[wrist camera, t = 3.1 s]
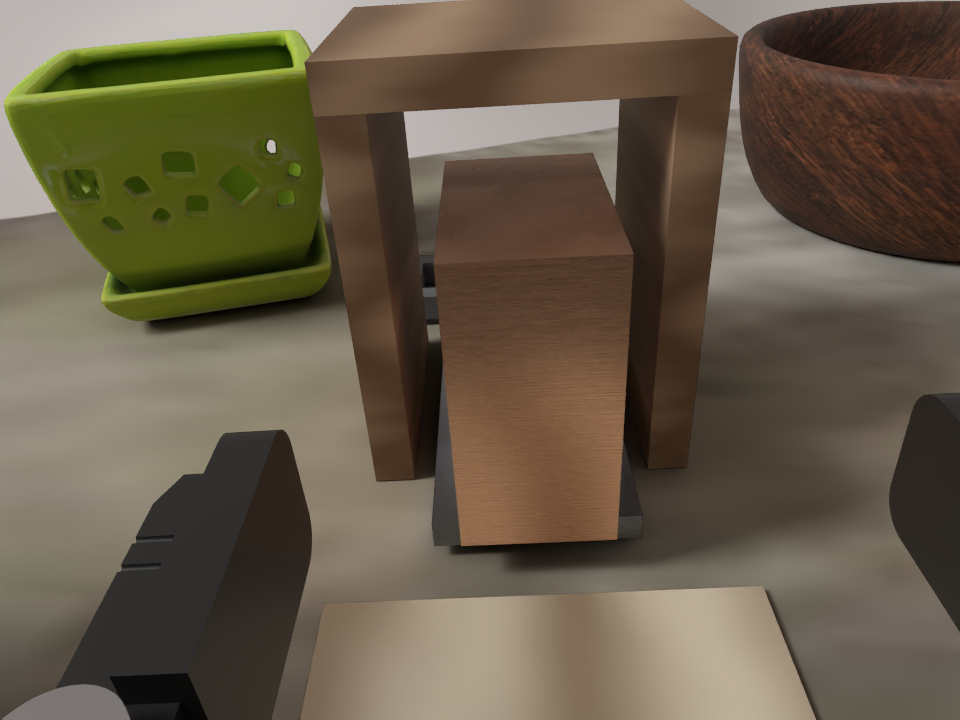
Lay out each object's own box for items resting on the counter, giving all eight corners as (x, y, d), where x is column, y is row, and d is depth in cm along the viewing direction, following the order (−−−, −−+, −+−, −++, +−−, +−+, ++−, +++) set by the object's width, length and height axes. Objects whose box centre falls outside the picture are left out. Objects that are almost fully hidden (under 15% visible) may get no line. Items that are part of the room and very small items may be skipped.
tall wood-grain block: (433, 568, 25) (393, 266, 19) (447, 334, 38) (426, 108, 32) (646, 560, 25) (674, 251, 19) (589, 327, 37) (595, 98, 32)
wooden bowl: (822, 125, 65) (847, -9, 59) (1202, 188, 49) (1284, 15, 43) (648, 214, 50) (660, 50, 45) (1103, 343, 35) (1206, 116, 29)
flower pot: (359, 310, 41) (319, 66, 35) (87, 357, 39) (-14, 103, 32) (335, 218, 53) (301, 20, 46) (124, 249, 50) (55, 45, 44)
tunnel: (376, 481, 30) (304, 62, 21) (398, 345, 38) (353, 7, 30) (686, 467, 29) (738, 36, 21) (639, 333, 38) (663, -12, 29)
